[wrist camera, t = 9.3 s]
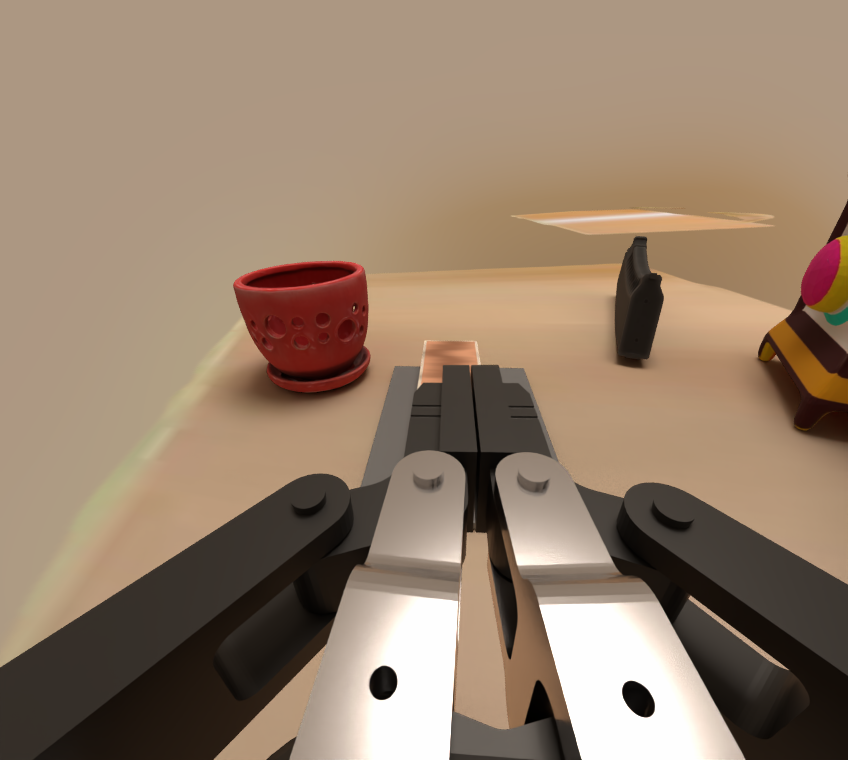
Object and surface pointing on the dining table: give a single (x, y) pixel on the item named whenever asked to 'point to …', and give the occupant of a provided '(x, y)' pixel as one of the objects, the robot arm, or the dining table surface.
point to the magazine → (637, 303)
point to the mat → (398, 415)
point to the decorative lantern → (817, 333)
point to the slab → (445, 358)
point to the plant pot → (308, 322)
